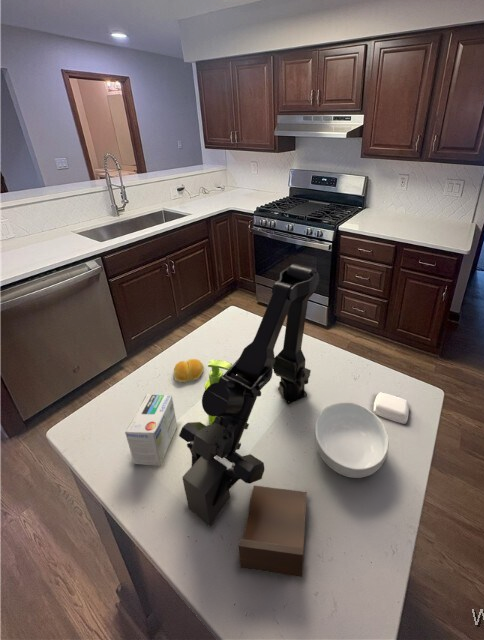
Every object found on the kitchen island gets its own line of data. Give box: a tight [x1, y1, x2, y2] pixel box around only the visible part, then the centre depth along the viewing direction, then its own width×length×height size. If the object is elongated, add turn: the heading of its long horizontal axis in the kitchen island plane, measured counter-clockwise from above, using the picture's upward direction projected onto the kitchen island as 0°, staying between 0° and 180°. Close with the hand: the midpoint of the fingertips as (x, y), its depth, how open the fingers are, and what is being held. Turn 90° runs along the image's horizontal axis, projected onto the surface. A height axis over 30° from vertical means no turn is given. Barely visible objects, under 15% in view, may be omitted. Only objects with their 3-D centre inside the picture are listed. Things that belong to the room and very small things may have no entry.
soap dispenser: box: [204, 359, 233, 425], centre depth 78 cm, size 6×7×20 cm
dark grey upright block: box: [182, 456, 231, 527], centre depth 62 cm, size 6×6×10 cm
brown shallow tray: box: [237, 485, 307, 578], centre depth 59 cm, size 12×11×7 cm
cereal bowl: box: [314, 401, 390, 479], centre depth 73 cm, size 17×17×7 cm
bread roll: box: [173, 358, 205, 383], centre depth 97 cm, size 8×9×4 cm
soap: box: [373, 391, 410, 425], centre depth 85 cm, size 9×7×3 cm
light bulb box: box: [124, 394, 178, 466], centre depth 74 cm, size 11×7×11 cm, turn 178°
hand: (202, 495), depth 61 cm, fingers closed on dark grey upright block, 6 cm apart
